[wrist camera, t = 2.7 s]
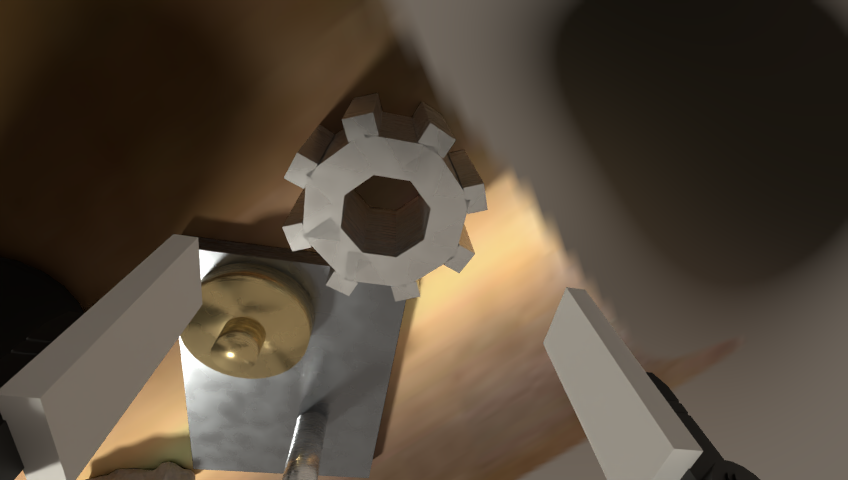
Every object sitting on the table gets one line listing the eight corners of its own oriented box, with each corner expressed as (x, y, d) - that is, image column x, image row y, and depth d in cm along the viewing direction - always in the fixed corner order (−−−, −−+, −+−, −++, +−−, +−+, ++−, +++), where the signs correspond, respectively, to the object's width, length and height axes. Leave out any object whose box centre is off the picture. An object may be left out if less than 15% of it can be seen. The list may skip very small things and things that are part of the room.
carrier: (180, 234, 26) (93, 319, 18) (410, 264, 28) (415, 351, 21) (200, 452, 36) (149, 565, 28) (369, 462, 38) (363, 569, 30)
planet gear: (312, 80, 22) (286, 96, 17) (482, 112, 24) (508, 137, 18) (302, 236, 26) (279, 288, 21) (446, 255, 28) (459, 309, 23)
